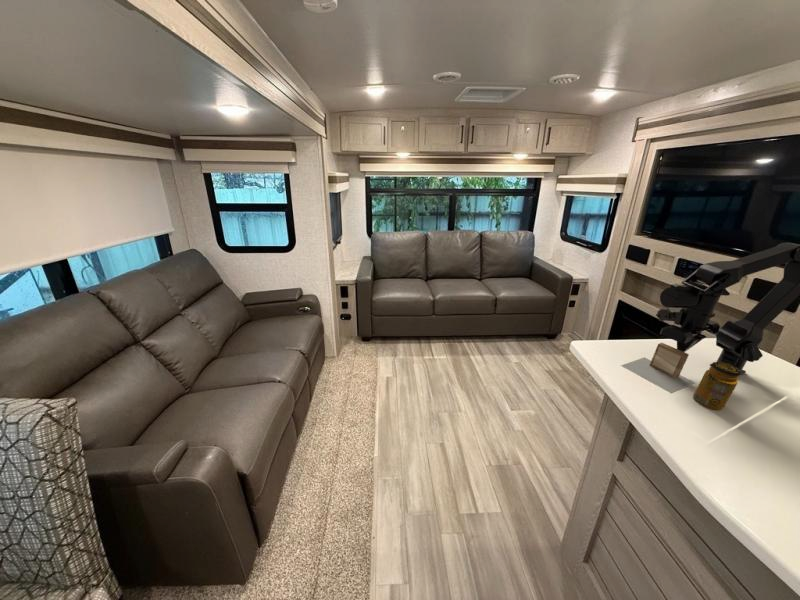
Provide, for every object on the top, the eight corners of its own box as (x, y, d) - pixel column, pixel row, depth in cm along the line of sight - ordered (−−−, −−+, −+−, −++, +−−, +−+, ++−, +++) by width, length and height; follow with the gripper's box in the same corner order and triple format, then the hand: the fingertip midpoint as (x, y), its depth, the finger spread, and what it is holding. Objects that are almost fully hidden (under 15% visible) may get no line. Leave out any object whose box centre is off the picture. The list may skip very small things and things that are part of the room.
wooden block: (653, 364, 98) (662, 342, 95) (678, 376, 92) (689, 354, 89) (648, 365, 97) (657, 344, 94) (674, 378, 91) (684, 356, 88)
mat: (644, 358, 102) (644, 357, 102) (694, 383, 90) (695, 382, 90) (620, 366, 97) (620, 365, 97) (670, 394, 85) (671, 393, 85)
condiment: (728, 406, 81) (749, 369, 77) (718, 420, 77) (740, 381, 72) (693, 391, 87) (710, 355, 82) (682, 402, 83) (700, 365, 78)
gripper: (685, 293, 99) (668, 335, 105) (650, 301, 92) (633, 346, 98) (730, 307, 89) (708, 352, 96) (694, 317, 82) (673, 365, 89)
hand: (679, 353), depth 95 cm, fingers closed
